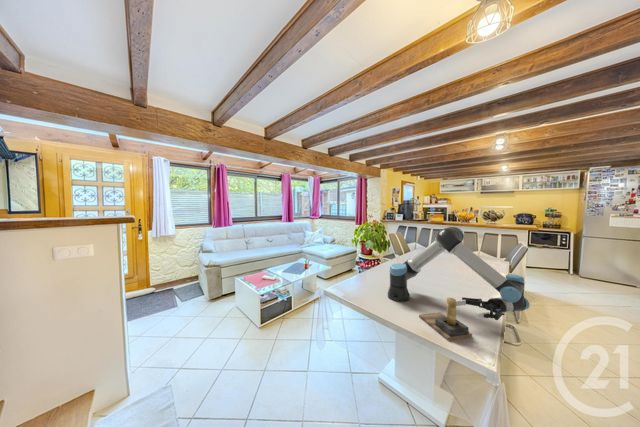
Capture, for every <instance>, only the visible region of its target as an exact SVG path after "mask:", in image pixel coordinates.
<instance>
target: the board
mask: <svg viewBox="0 0 640 427" xmlns="http://www.w3.org/2000/svg"><path fill="white" fill-rule="evenodd" d="M418 318H419V319H420V320H422V321H423V322H424V323H426V324H427V325H428V326H429V327H430V328H432V329H433V330H434V331H435V332H436V333H438V335H440V336H442V338H444V339H445V341H454V340H461V339H469V338H473V333H471V332H470V331H469V330H470V329H469V327H468V326H467V325H466V324H464V323H463V322H461V321H459V320H458V319H456V326H449V325H448V324H447V315H445V314H443V313H442V312H440V311H439V312H433V313H432V312H431V313H424V314H419V315H418Z"/></svg>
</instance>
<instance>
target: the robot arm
mask: <svg viewBox="0 0 640 427" xmlns="http://www.w3.org/2000/svg"><path fill="white" fill-rule="evenodd" d="M434 239H435V240H433V241H432V242H431V243H430V244H428V245H427V246H426V247H425V248H424V249H422V251H420V252H419V253H417V254H416V255H415V256H414V257H413V258H408V259H407V260H406V261H404V262H403V263H399V262H397V263H393V264H391V265H390V266H389V287H388V291H387V298H389V299H390V300H391V301H392V300H393V301H395V302H408V301H409V300H410V297H411V296H410V295H411V294H410V292H409V289H408V281H409V280H410V279H413V278H414V277H416V276H417V275H418V274H419V273H420V272H421V271H422V270H421V269H422V268H423V267H425V266H426V265H427V264H428V263H430V262H431V261H433V260H434V259H435V258H437V257H438V256H440V254H442V253H444V252H445V251H447V252H448V253H449V254H453V255H454V256H455V257H457V258H458V259H459V260H460V261H461V262H462V263H464V264H465V265H466V266H467V267H469V268H470V269H471V270H472V271H473V272H474V273H475V274H477V275H478V276H479V277H481V279H483V280H484V281H485V282H486V283H487V284H489V285H490V286H491V287H493V289H495V290H496V291H497V292H499V296H500V297H494V298H493V297H492V298H489V299H487V301H486V300H483V299H482V298H471V297H461V299H458V300H456V307H460V306H466V305H470V306H474V307H475V306H476V307H479V308H480V309H484V310H485V311H481V312H476V319H477V320H481V319H494V320H495V321H499V319H500V318H501V317H503V316H504V315H505V313H506V314H507V313H512V312H522V311H526V310H528V309H529V308H530V302H529V300H528V299H527V298H526V297H525V278H524V277H523V276H522V275H519V274H512V273H508V274H506V275H505V276H504V275H502V274H501V273H500V272H499V271H497V270H496V269H494V267H492V266H491V265H489V264H488V263H487V262H486V261H484V260H483V259H482V258H481V257H480V256H478V255H477V254H476V253H474V252H473V251H472V250H471V249H469V248H468V247H467V246H466V245H464V243H463V241H464V239H465V233H464V231H463V230H461V228H459V227H457V226H448V227H445V228H442V229H440V230H439V231H438V232H437V234H436V236H435V238H434ZM486 310H487V311H486Z"/></svg>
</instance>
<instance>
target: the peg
mask: <svg viewBox="0 0 640 427" xmlns="http://www.w3.org/2000/svg"><path fill="white" fill-rule="evenodd" d="M456 301H457V300H456V299H455V298H454V297H447V298H446V317H447V324H448V325H449V326H456V320H457V306H456Z"/></svg>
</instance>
